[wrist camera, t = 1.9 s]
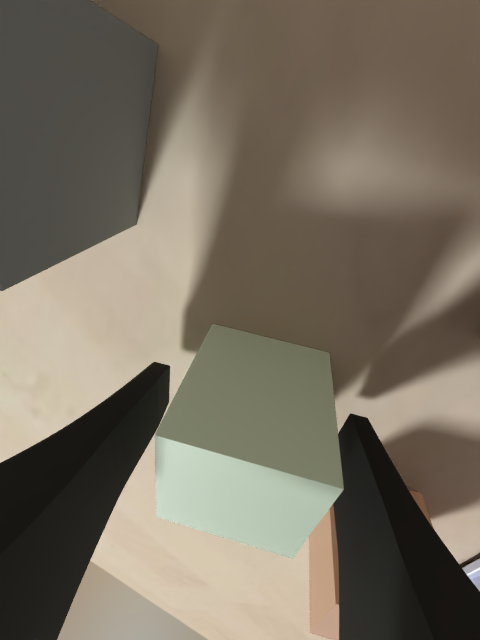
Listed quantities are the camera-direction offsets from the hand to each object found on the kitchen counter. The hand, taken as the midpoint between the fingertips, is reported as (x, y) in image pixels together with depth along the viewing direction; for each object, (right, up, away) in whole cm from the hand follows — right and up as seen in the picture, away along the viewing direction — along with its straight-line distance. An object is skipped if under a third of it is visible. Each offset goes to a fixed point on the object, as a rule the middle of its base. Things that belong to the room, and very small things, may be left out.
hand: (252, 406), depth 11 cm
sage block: (0, +1, +1) cm, 2 cm away
